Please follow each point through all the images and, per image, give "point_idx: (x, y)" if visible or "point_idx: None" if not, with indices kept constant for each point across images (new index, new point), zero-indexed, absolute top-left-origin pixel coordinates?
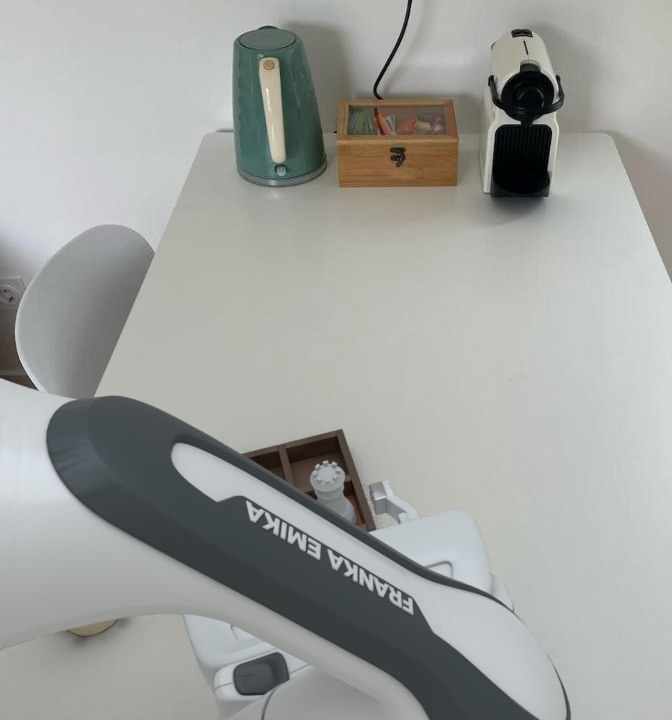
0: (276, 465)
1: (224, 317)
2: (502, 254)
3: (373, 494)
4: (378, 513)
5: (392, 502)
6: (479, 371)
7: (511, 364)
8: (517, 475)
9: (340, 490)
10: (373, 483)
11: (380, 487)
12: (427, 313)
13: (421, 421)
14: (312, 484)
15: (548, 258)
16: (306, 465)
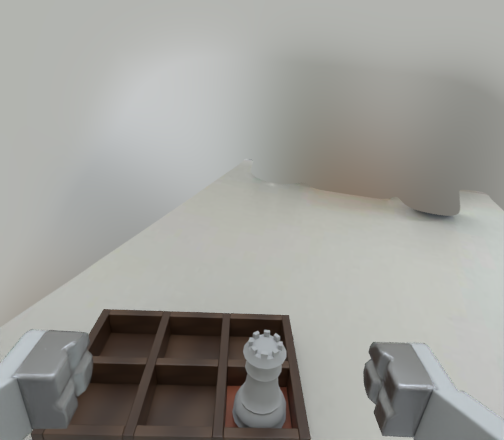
0: (217, 334)
1: (218, 229)
2: (426, 235)
3: (390, 369)
4: (390, 432)
5: (460, 411)
6: (418, 305)
7: (449, 307)
8: None
9: (276, 373)
10: (385, 342)
11: (408, 356)
12: (369, 256)
13: (364, 333)
14: (244, 354)
15: (464, 244)
16: (245, 342)
